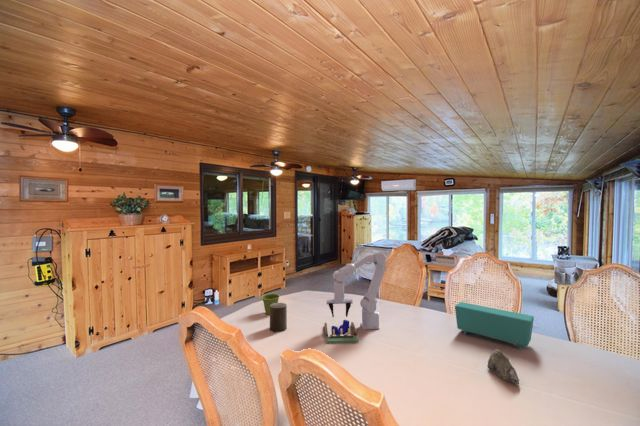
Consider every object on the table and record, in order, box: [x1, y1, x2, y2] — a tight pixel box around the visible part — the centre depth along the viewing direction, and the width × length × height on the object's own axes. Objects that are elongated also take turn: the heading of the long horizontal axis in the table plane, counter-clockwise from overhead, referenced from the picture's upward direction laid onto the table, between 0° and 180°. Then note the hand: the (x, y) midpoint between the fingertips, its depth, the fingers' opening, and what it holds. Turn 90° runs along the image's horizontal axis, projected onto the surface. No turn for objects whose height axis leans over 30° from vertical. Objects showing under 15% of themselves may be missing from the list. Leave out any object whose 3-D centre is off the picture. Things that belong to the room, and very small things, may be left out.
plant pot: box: [261, 293, 281, 316], centre depth 193 cm, size 12×12×11 cm
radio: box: [454, 301, 535, 350], centre depth 152 cm, size 34×10×15 cm, turn 47°
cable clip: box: [330, 319, 350, 335], centre depth 161 cm, size 12×4×6 cm, turn 139°
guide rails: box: [324, 321, 358, 338], centre depth 164 cm, size 17×15×2 cm
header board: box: [325, 327, 359, 344], centre depth 152 cm, size 16×6×5 cm, turn 91°
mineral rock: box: [486, 348, 520, 386], centre depth 118 cm, size 13×11×10 cm
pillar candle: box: [269, 302, 288, 333], centre depth 169 cm, size 10×10×15 cm
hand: (339, 316), depth 165 cm, fingers open, 7 cm apart
